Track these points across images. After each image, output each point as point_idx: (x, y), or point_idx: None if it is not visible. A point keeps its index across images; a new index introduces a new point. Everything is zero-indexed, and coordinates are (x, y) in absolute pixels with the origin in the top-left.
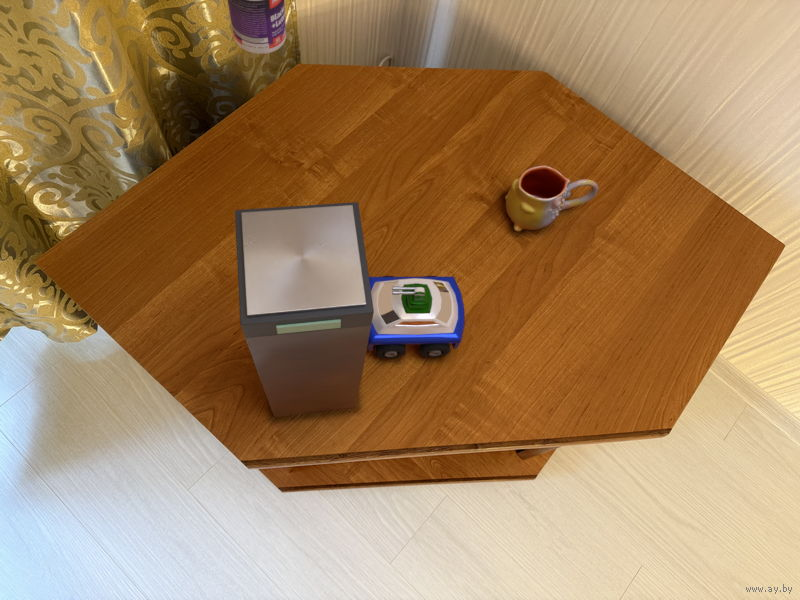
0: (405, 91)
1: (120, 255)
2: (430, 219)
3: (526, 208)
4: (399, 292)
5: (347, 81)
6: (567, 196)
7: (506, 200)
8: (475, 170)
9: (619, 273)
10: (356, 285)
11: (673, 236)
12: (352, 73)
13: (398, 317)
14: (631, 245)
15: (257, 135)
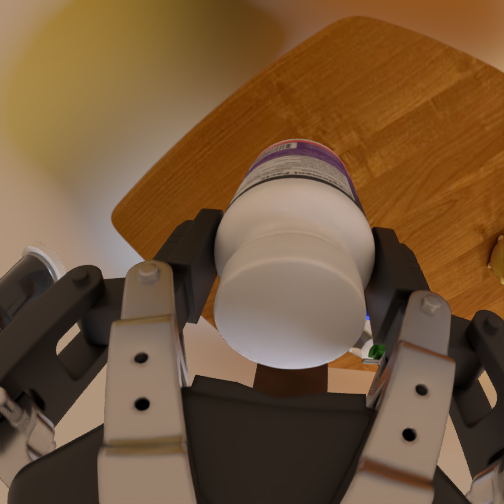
0: (470, 81)
1: (154, 222)
2: (434, 241)
3: (501, 282)
4: (367, 363)
5: (409, 43)
6: None
7: (496, 253)
8: (493, 201)
9: None
10: None
11: None
12: (417, 33)
13: (361, 356)
14: None
15: (285, 100)
